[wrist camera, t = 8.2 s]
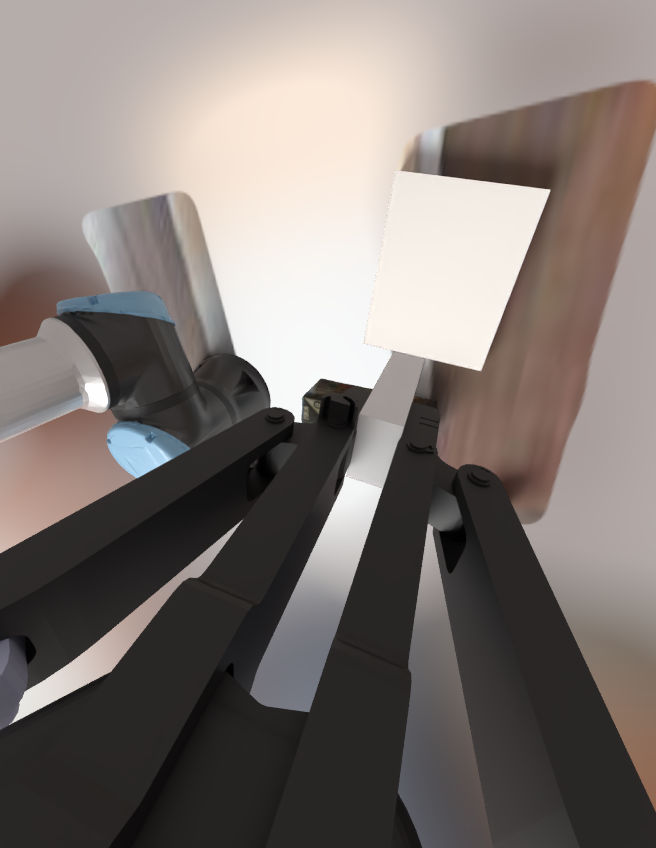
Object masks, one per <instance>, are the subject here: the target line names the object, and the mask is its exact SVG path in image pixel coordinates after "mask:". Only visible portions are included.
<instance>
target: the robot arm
mask: <svg viewBox="0 0 656 848" xmlns="http://www.w3.org/2000/svg"><path fill="white" fill-rule="evenodd" d="M57 313H58V315H59V316H56V317H52V318H48V319H45V320H44V321H43V322H42V324H41V326H40V329H39V332H38V334H37V337H35V338H32V339H28V340H24V341H21V342H17V343H13V344H10V345H6V346H2V347H0V442H3V441H5V440H7V439H9V438H11V437H14V436H16V435H18V434H20V433H23V432H26V431H28V430H30V429H32V428H35V427H37V426H39V425H41V424H44V423H46V422H49V421H51V420H53V419H55V418H58V417H60V416H62V415H64V414H67V413H69V412H71V411H74V410H76V409H78V408H83V409H86V410H90V411H93V412H98V413H100V412H104V411H106V410H108V409H111V411H112V413H113V415H114V417H115V419H116V421H117V423H116V424H114V425H113V426H112V428H111V429H110V430H109V432H108V434H107V438H108V439H107V445H108V448H109V450H110V452H111V454H112V455H113V457H114V458H115V459H116V461H117V462H118V463H119V464H120V465H121V466H122V467H123V468H124V469H125V470H126V471H127V472H129V473H130V474H131V475H133V476H134V477H136V478H137V479H135V480H133V481H131V482H130V483H128V484H126V485H124V486H122V487H120V488H119V489H117V490H115V491H113V492H111V493H109V494H108V495H106V496H104V497H102V498H100V499H99V500H97V501H95V502H93V503H91V504H89V505H88V506H86V507H84V508H82V509H80V510H79V511H77V512H75V513H73V514H71V515H69V516H68V517H66V518H64V519H62V520H60V521H59V522H57V523H55V524H53V525H51V526H50V527H48V528H46V529H44V530H42V531H40V532H39V533H37V534H35V535H33V536H32V537H29V538H28V539H26V540H24V541H22V542H20V543H19V544H17V545H15V546H13V547H11V548H9V549H8V550H6V551H4V552H2V553H0V848H422V846H421V843H420V840H419V837H418V834H417V832H416V829H415V827H414V824H413V822H412V820H411V818H410V815H409V813H408V811H407V809H406V807H405V805H404V803H403V802H402V799H401V798H400V796H399V794H398V786H399V778H400V771H401V763H402V755H403V747H404V739H405V731H406V724H407V716H408V708H409V699H410V691H411V672H410V671H409V669H408V659H409V652H410V645H411V638H412V631H413V624H414V617H415V610H416V602H417V596H418V589H419V582H420V575H421V567H422V560H423V553H424V546H425V539H426V532H427V525H428V524H430V525H431V526H433V536H434V541H435V547H436V552H437V557H438V563H439V568H440V573H441V578H442V583H443V589H444V594H445V599H446V604H447V609H448V615H449V620H450V625H451V630H452V636H453V641H454V646H455V651H456V656H457V662H458V667H459V672H460V677H461V683H462V688H463V693H464V698H465V704H466V709H467V713H468V719H469V724H470V730H471V734H472V740H473V745H474V750H475V756H476V761H477V766H478V771H479V777H480V782H481V787H482V792H483V797H484V803H485V808H486V813H487V818H488V824H489V828H490V834H491V839H492V844H493V848H656V812H655V810H654V807H653V805H652V803H651V801H650V799H649V797H648V795H647V793H646V790H645V788H644V786H643V784H642V782H641V780H640V778H639V775H638V773H637V771H636V769H635V767H634V765H633V763H632V761H631V758H630V756H629V754H628V752H627V750H626V748H625V745H624V743H623V741H622V739H621V737H620V735H619V733H618V730H617V728H616V726H615V724H614V722H613V720H612V718H611V715H610V713H609V711H608V709H607V707H606V705H605V703H604V700H603V698H602V696H601V694H600V692H599V690H598V688H597V685H596V683H595V681H594V679H593V677H592V675H591V673H590V671H589V668H588V666H587V664H586V662H585V660H584V658H583V656H582V653H581V651H580V649H579V647H578V645H577V643H576V641H575V638H574V636H573V634H572V632H571V630H570V628H569V626H568V623H567V622H566V619H565V617H564V615H563V613H562V611H561V608H560V607H559V604H558V602H557V600H556V598H555V596H554V594H553V591H552V589H551V587H550V585H549V583H548V581H547V579H546V577H545V574H544V572H543V570H542V568H541V566H540V564H539V562H538V559H537V557H536V555H535V553H534V551H533V549H532V546H531V544H530V542H529V540H528V538H527V536H526V534H525V531H524V529H523V527H522V525H521V523H520V521H519V519H518V517H517V514H516V512H515V510H514V508H513V506H512V504H511V502H510V499H509V497H508V495H507V493H506V491H505V489H504V487H503V484H502V482H501V481H500V479H499V478H498V477H497V476H496V475H495V474H494V473H493V472H491V471H490V470H488V469H486V468H484V467H481V466H477V465H471V464H466V465H463V466H461V467H460V468H459V469H458V470H457V469H455V468H453V467H451V466H449V465H448V464H446V463H445V462H443V461H442V460H441V459H440V458H439V457H438V452H437V448H436V442H437V436H438V428H439V422H440V414H439V412H438V410H437V409H436V408H434V407H430V406H426V405H422V404H419V403H415V402H413V399H414V395H415V392H416V388H417V385H418V382H419V378H420V375H421V371H422V368H423V365H424V361H425V359H424V358H420V357H416V356H412V355H407V354H403V353H399V352H395V351H394V352H393V354H392V356H391V358H390V360H389V361H388V363H387V365H386V367H385V369H384V370H383V372H382V374H381V376H380V378H379V380H378V381H377V383H376V385H375V387H374V388H373V390H372V392H371V391H367V390H364V389H360V388H356V387H352V388H350V389H347V390H345V392H344V393H343V394H340V393H329V394H325V395H324V396H322V397H321V402H320V410H319V417H318V419H317V420H316V422H315V423H297V422H294V416H293V414H292V413H291V412H289V411H288V410H285V409H282V408H277V407H273V408H270V403H271V400H270V393H269V390H268V387H267V384H266V382H265V380H264V379H263V377H262V375H261V374H260V373H259V372H258V370H257V369H256V368H255V367H254V366H252V365H251V364H250V363H249V362H247V361H246V360H244V359H243V358H241V357H238V356H234V355H230V354H217V355H213V356H211V357H209V358H207V359H206V360H204V361H202V362H201V363H200V364H199V365H198V366H197V367H196V369H195V370H194V372H193V371H192V369H191V366H190V364H189V361H188V359H187V356H186V354H185V351H184V349H183V346H182V344H181V341H180V339H179V336H178V334H177V331H176V329H175V325H176V324H175V322H174V321H173V320H172V319H171V317H170V314H169V312H168V310H167V308H166V306H165V303H164V301H163V300H162V299H161V297H159V296H158V295H156V294H155V293H152V292H148V291H131V292H118V293H108V294H100V295H96V296H87V297H78V298H72V299H67V300H63V301H60V302H58V303H57ZM347 469H348V471H347ZM346 471H347V477H350V478H353V479H356V480H359V481H362V482H365V483H368V484H371V485H374V486H377V487H380V488H383V490H382V493H381V496H380V499H379V502H378V505H377V508H376V511H375V514H374V517H373V521H372V524H371V527H370V530H369V533H368V536H367V539H366V542H365V545H364V548H363V551H362V555H361V558H360V561H359V564H358V567H357V570H356V573H355V576H354V579H353V583H352V585H351V589H350V592H349V595H348V598H347V601H346V604H345V607H344V610H343V613H342V616H341V619H340V623H339V626H338V629H337V632H336V635H335V637H334V639H333V642H332V645H331V648H330V651H329V654H328V657H327V660H326V663H325V666H324V669H323V672H322V675H321V678H320V681H319V684H318V687H317V691H316V694H315V697H314V700H313V703H312V706H311V709H310V712H302V711H295V710H288V709H280V708H273V707H267V706H264V705H262V704H260V703H259V702H257V701H256V700H255V699H254V698H253V697H252V696H251V695H250V691H251V688H252V685H253V682H254V678H255V675H256V672H257V669H258V667H259V664H260V662H261V660H262V658H263V655H264V653H265V651H266V649H267V647H268V644H269V642H270V640H271V638H272V636H273V634H274V632H275V629H276V627H277V625H278V623H279V621H280V619H281V617H282V615H283V612H284V610H285V608H286V606H287V604H288V602H289V600H290V597H291V595H292V593H293V591H294V589H295V587H296V585H297V582H298V580H299V578H300V576H301V574H302V572H303V570H304V567H305V565H306V563H307V561H308V559H309V556H310V554H311V552H312V550H313V548H314V546H315V544H316V541H317V539H318V537H319V535H320V533H321V531H322V529H323V527H324V524H325V522H326V520H327V518H328V516H329V513H330V512H331V509H332V507H333V505H334V503H335V501H336V499H337V496H338V494H339V492H340V490H341V488H342V485H343V481H344V476H345V473H346ZM241 520H243V521H242V522H241V523H240V525H239V526H238V527H237V529H236V530H235V532H234V533H233V534H232V536H231V537H230V538H229V540H228V541H227V542H226V544H225V545H224V546H223V548H222V549H221V550H220V552H219V553H218V554H217V556H216V557H215V559H214V560H213V561H212V563H211V564H210V565H209V567H208V568H207V569H206V571H205V572H204V573H203V574H202V575H201V576H200V577H199V578H188V579H187V580H185V581H183V582H182V583H181V584H180V586H179V587H178V588H177V589H176V590H175V591H174V592H173V593H172V595H171V596H170V597H169V599H168V600H167V601H166V603H165V604H164V605H163V606H162V607H161V609H160V610H159V611H158V613H157V614H156V615H155V617H154V618H153V619H152V620H151V622H150V623H149V624H148V625H147V627H146V628H145V629H144V631H143V632H142V633H141V634H140V636H139V637H138V638H137V639H136V641H135V642H134V643H133V645H132V646H131V647H130V648H129V650H128V651H127V653H126V654H125V655H124V656H123V657H122V659H121V660H120V661H119V663H118V664H117V665H116V666H115V668H114V669H113V670H112V672H110V673H108V674H106V675H104V676H102V677H100V678H98V679H96V680H94V681H92V682H90V683H89V684H87V685H85V686H83V687H81V688H79V689H77V690H75V691H73V692H71V693H70V694H68V695H66V696H64V697H62V698H60V699H58V700H56V701H54V702H52V703H50V704H49V705H47V706H45V707H43V708H41V709H39V710H37V711H35V712H33V713H31V714H29V715H28V716H26V717H24V718H22V719H20V720H18V721H16V722H14V723H12V724H10V723H11V722H12V721H13V720H14V718H15V716H16V715H17V713H18V709H19V702H20V700H21V699H22V697H23V694H24V692H25V691H26V690H28V689H30V688H31V687H33V686H35V685H37V684H38V683H40V682H42V681H43V680H45V679H46V678H48V677H49V676H51V675H52V674H54V673H55V672H57V671H58V670H60V669H61V668H63V667H64V666H66V665H67V664H69V663H70V662H72V661H73V660H74V659H75V658H77V657H78V656H79V655H81V654H82V653H83V652H85V651H86V650H87V649H88V648H90V647H91V646H92V645H93V644H95V643H96V642H97V641H98V640H100V638H102V637H103V636H104V635H106V634H107V633H108V632H109V631H110V630H112V629H113V628H114V627H115V626H116V625H117V624H119V623H120V622H121V621H122V620H123V619H125V618H126V617H127V616H128V615H129V614H131V613H132V612H133V611H134V610H135V609H136V608H138V607H139V606H140V605H141V604H143V603H144V602H145V601H146V600H147V599H148V598H150V597H151V596H152V595H153V594H154V593H156V592H157V591H158V590H159V589H160V588H161V587H163V586H164V585H165V584H166V583H168V582H169V581H170V580H171V579H172V578H173V577H175V576H176V575H177V574H178V573H179V572H181V571H182V570H183V569H184V568H185V567H186V566H188V565H189V564H190V563H191V562H192V561H194V560H195V559H196V558H197V557H198V556H200V555H201V554H202V553H203V552H204V551H206V550H207V549H208V548H209V547H210V546H211V545H213V544H214V543H215V542H216V541H218V540H219V539H220V538H221V537H222V536H223V535H225V534H226V533H227V532H228V531H229V530H230V529H232V528H233V527H234V526H235V525H237V524H238V523H239V522H240V521H241ZM9 724H10V725H9Z"/></svg>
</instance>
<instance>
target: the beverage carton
mask: <svg viewBox="0 0 656 848" xmlns="http://www.w3.org/2000/svg"><path fill="white" fill-rule="evenodd" d="M352 387H356V388H360V389H364V390H367V391H371V392H372V390H373V389H369V388H363V387H359V386H354V385H349V384H343V383H339V382H334V381H330V380H326V379H320V380H319V381H318V382H317V383H316V384H315V385H314V386H313V387H312V388H311V389H310V390H309V391H308V392H307V393H306V394H305V395H304V396H303V398H302V423H315V422H316V420H317V419H318V417H319V410H320V402H321V397H322V396H324V395H325V394H329V393H340V394H343V393H344V392H345V390H347V389H350V388H352ZM413 402H415V403H419V404H422V405H426V406H430V407H434V408H436V407H437V401H432V400H427V399H423V398H418V397H414V399H413Z"/></svg>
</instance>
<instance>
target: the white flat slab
mask: <svg viewBox="0 0 656 848" xmlns="http://www.w3.org/2000/svg"><path fill="white" fill-rule="evenodd" d="M549 193H550V190H548V189H541V188H533V187H525V186H517V185H509V184H501V183H493V182H485V181H477V180H469V179H461V178H453V177H445V176H437V175H429V174H421V173H413V172H405V171H397V170H395V175H394V180H393V186H392V191H391V197H390V202H389V208H388V213H387V219H386V224H385V230H384V235H383V241H382V246H381V251H380V257H379V263H378V268H377V274H376V279H375V284H374V289H373V295H372V301H371V306H370V311H369V317H368V322H367V328H366V333H365V339H364V344H367V345H372V346H376V347H381V348H385V349H389V350H393V351H397V352H402V353H406V354H410V355H414V356H419V357H423V358H427V359H431V360H436V361H440V362H444V363H448V364H453V365H457V366H461V367H465V368H470V369H474V370H478V371H481V369H482V367H483V364H484V362H485V359H486V356H487V354H488V351H489V349H490V346H491V343H492V341H493V338H494V336H495V333H496V330H497V328H498V325H499V323H500V320H501V318H502V315H503V312H504V310H505V307H506V305H507V302H508V299H509V297H510V294H511V292H512V289H513V286H514V284H515V281H516V279H517V276H518V273H519V271H520V268H521V266H522V263H523V260H524V258H525V255H526V253H527V250H528V247H529V245H530V242H531V240H532V237H533V234H534V232H535V229H536V227H537V224H538V221H539V219H540V216H541V214H542V211H543V208H544V206H545V203H546V201H547V198H548V195H549Z"/></svg>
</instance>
